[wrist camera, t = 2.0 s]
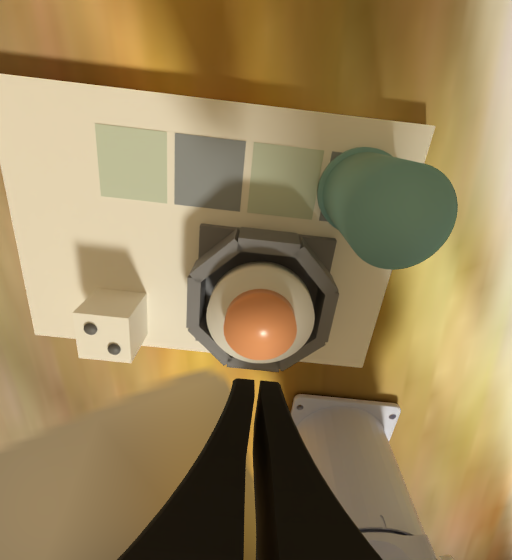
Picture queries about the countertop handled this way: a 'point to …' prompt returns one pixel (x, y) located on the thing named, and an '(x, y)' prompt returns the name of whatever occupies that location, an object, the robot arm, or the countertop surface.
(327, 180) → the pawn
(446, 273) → the countertop surface
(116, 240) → the game board
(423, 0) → the countertop surface
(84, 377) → the countertop surface
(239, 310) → the dome button
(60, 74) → the countertop surface
